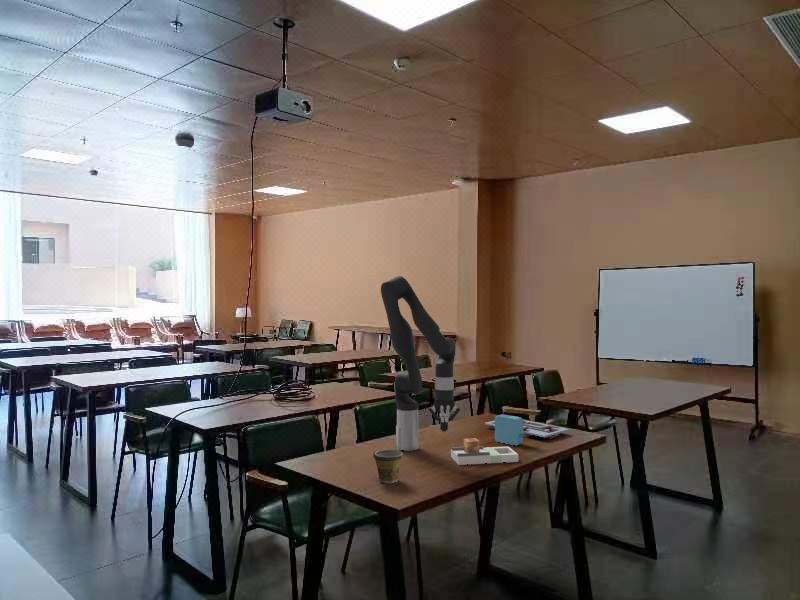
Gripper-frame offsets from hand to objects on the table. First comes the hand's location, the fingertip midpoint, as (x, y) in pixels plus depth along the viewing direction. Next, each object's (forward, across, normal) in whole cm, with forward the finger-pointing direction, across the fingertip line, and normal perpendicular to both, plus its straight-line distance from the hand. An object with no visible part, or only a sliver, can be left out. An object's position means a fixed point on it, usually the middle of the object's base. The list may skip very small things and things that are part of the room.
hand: (444, 431), depth 232 cm
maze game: (+12, +48, +45) cm, 67 cm away
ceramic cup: (+13, -25, -20) cm, 34 cm away
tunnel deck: (+12, +16, +2) cm, 21 cm away
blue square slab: (+12, +34, +25) cm, 44 cm away
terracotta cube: (+9, +12, +2) cm, 15 cm away
